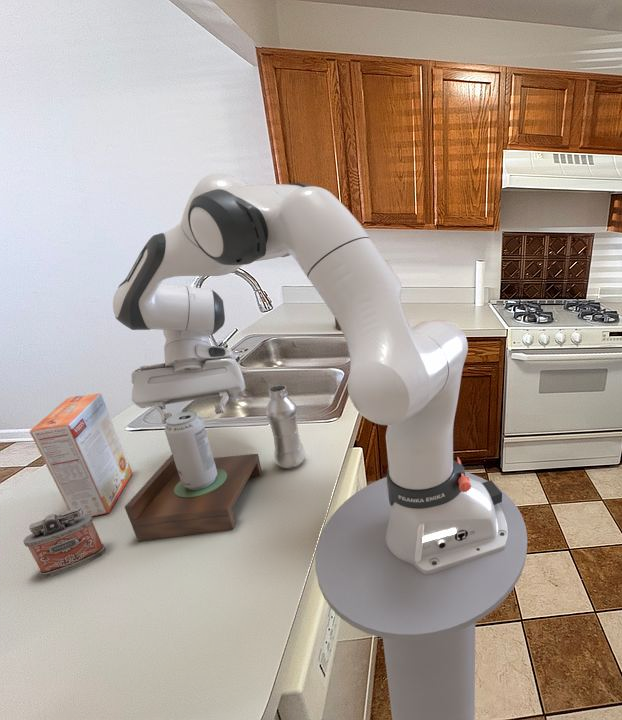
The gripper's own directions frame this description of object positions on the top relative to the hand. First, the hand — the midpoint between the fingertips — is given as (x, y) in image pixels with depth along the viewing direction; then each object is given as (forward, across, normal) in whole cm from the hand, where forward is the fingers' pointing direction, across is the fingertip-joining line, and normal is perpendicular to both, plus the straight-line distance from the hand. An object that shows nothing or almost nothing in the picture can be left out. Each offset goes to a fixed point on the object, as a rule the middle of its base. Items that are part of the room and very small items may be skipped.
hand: (194, 417), depth 85 cm
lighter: (+23, -18, -1) cm, 29 cm away
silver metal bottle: (+13, +17, +8) cm, 23 cm away
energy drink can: (+14, 0, 0) cm, 14 cm away
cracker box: (+10, -19, +12) cm, 25 cm away
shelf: (+18, 0, +4) cm, 18 cm away
